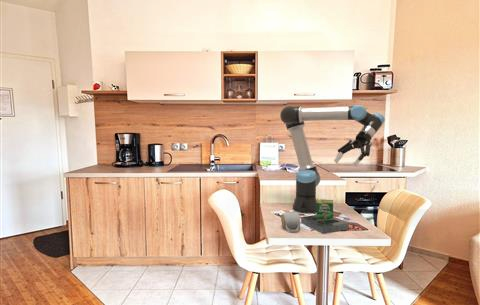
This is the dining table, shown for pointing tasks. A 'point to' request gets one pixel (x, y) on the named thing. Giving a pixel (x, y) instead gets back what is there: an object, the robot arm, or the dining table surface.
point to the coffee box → (324, 211)
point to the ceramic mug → (290, 221)
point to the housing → (325, 228)
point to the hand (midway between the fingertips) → (344, 163)
